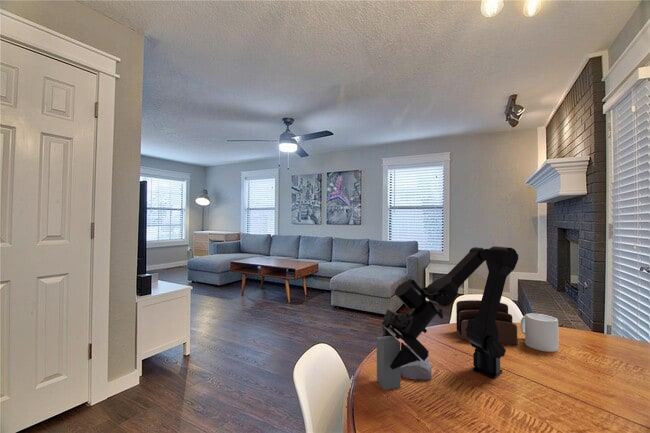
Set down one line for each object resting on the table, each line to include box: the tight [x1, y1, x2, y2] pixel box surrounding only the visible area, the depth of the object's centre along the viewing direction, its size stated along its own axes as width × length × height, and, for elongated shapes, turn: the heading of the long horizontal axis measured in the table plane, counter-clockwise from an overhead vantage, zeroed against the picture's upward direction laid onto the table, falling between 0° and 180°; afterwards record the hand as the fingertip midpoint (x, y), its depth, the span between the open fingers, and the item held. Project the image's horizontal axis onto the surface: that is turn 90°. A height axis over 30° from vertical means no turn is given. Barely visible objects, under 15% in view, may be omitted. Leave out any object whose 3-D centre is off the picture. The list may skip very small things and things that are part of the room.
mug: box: [520, 312, 560, 353], centre depth 111 cm, size 14×10×11 cm
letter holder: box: [455, 299, 519, 346], centre depth 117 cm, size 10×20×14 cm, turn 76°
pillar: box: [376, 336, 402, 391], centre depth 83 cm, size 5×5×12 cm
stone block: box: [400, 356, 433, 381], centre depth 91 cm, size 12×5×10 cm
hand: (384, 360), depth 83 cm, fingers open, 9 cm apart
